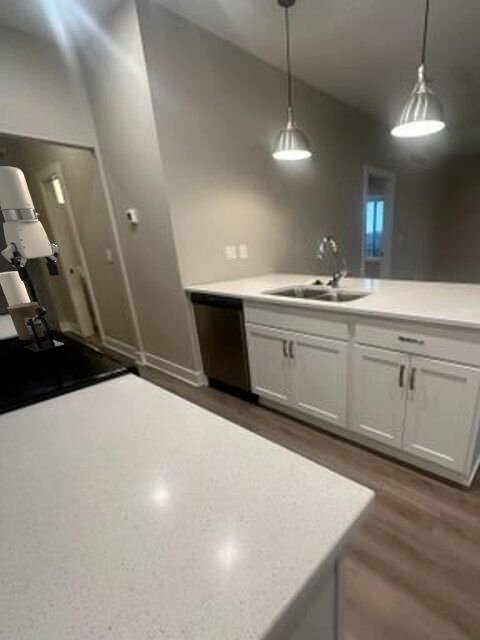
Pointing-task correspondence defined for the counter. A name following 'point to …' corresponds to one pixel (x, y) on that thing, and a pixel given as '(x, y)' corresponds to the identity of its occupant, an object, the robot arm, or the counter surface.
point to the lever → (38, 315)
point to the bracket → (37, 344)
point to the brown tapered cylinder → (19, 314)
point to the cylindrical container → (13, 288)
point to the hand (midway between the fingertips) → (41, 278)
